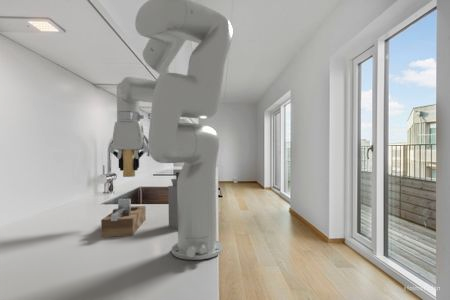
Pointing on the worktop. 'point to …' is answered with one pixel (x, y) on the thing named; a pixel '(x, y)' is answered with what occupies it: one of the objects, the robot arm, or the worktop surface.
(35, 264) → the worktop surface
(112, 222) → the socket block
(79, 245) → the worktop surface
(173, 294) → the worktop surface
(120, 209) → the lock pin
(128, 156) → the peg
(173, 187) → the perfume bottle
